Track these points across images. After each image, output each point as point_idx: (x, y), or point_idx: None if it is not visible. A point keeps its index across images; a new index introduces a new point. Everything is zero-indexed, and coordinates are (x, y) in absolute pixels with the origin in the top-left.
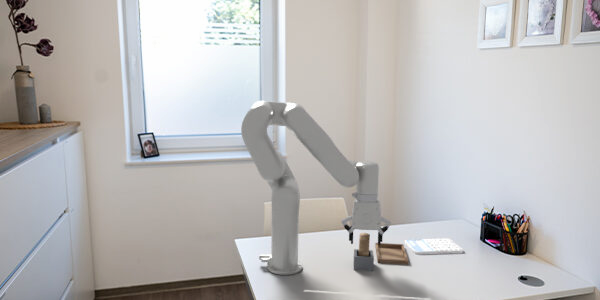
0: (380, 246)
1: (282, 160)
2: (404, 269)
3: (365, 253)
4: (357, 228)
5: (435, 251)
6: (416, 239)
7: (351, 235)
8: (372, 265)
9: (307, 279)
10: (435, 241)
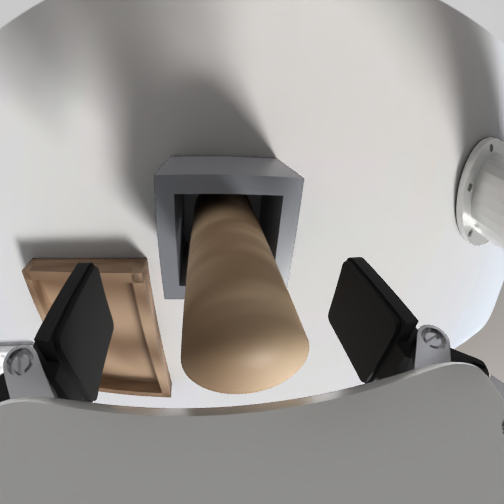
0: (152, 384)
1: None
2: (38, 224)
3: (217, 216)
4: (434, 375)
5: (3, 351)
6: None
7: (403, 307)
8: (169, 164)
9: (453, 96)
10: None
